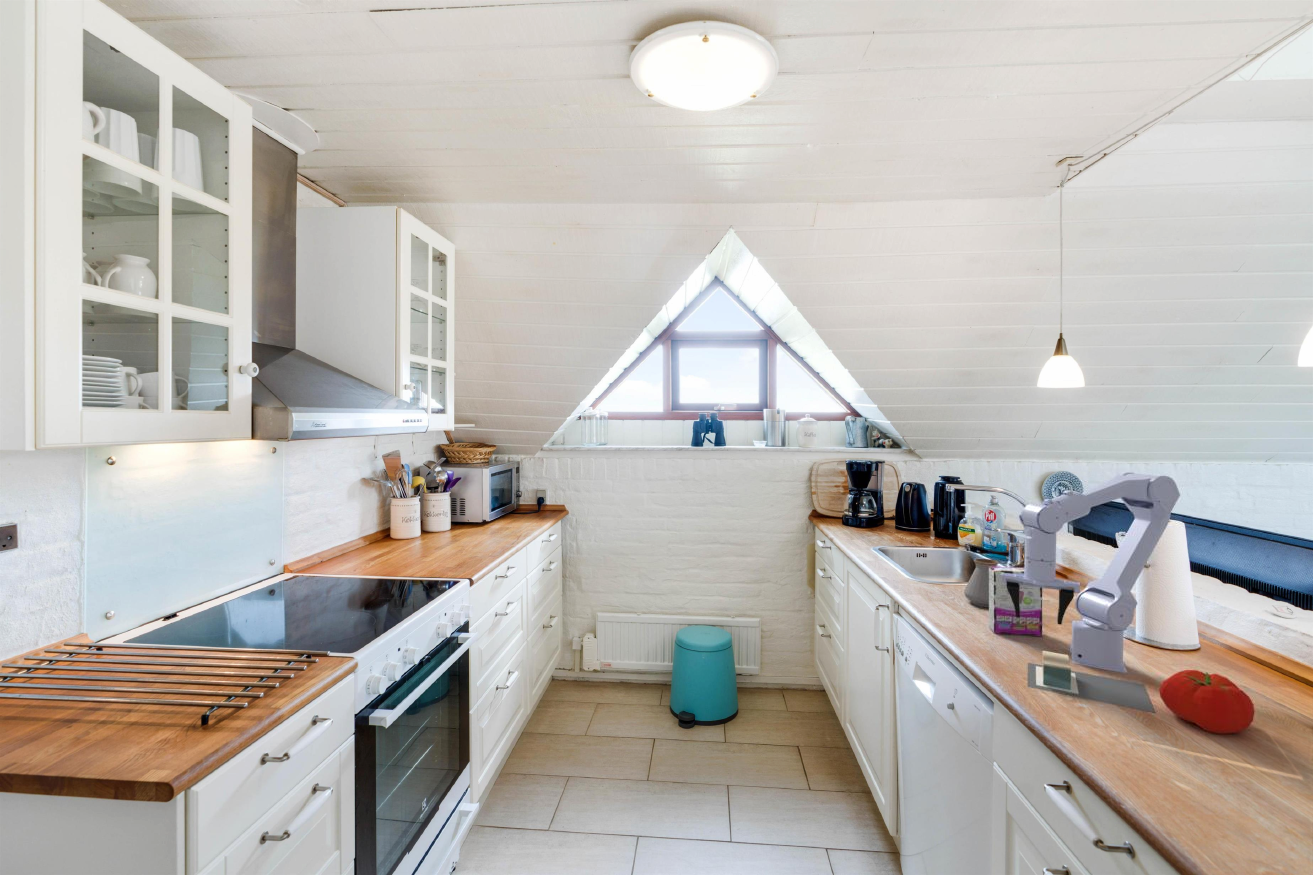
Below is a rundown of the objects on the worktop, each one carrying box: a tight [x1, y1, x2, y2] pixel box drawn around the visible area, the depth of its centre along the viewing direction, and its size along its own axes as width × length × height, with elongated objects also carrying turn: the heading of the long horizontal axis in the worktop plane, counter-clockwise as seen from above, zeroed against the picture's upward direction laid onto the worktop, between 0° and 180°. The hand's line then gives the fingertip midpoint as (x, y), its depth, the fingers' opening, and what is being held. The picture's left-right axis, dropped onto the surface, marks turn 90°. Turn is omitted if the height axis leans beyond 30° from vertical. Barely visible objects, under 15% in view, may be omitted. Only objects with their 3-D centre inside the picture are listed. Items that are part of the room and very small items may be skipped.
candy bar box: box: [988, 566, 1043, 637], centre depth 150 cm, size 11×5×16 cm, turn 76°
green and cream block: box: [1041, 650, 1072, 690], centre depth 121 cm, size 9×5×4 cm, turn 148°
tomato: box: [1158, 669, 1256, 735], centre depth 104 cm, size 13×12×8 cm
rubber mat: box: [1026, 662, 1156, 714], centre depth 119 cm, size 20×14×1 cm
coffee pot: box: [963, 558, 1025, 608], centre depth 172 cm, size 21×12×15 cm, turn 68°
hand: (1038, 619), depth 129 cm, fingers open, 7 cm apart
